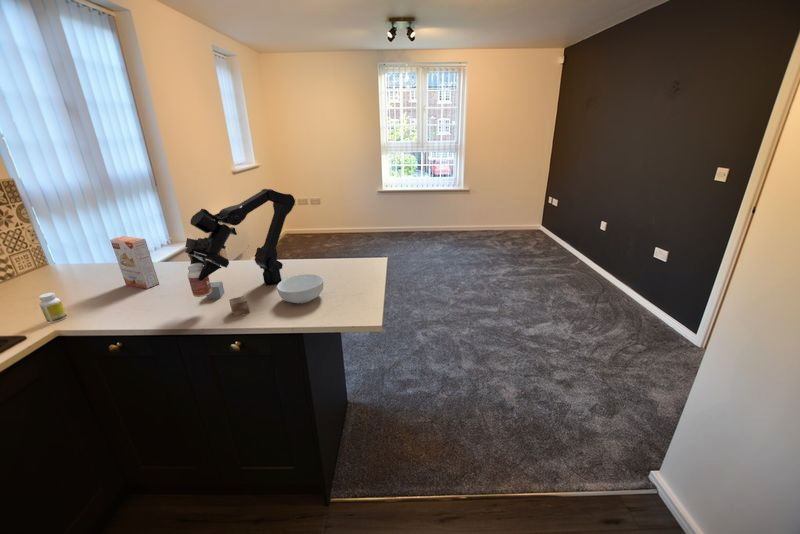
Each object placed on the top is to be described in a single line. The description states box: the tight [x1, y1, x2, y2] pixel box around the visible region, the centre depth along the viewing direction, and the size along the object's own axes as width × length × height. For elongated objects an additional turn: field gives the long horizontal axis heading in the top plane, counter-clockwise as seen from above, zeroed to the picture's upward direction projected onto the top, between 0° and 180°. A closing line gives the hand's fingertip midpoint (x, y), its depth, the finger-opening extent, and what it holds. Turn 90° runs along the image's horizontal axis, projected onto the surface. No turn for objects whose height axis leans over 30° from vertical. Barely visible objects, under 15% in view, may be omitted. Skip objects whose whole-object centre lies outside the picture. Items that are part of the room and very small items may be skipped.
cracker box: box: [109, 235, 160, 290], centre depth 150 cm, size 14×6×21 cm, turn 68°
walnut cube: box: [228, 295, 250, 318], centre depth 126 cm, size 5×5×5 cm
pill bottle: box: [187, 263, 212, 298], centre depth 125 cm, size 6×6×11 cm
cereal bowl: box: [276, 273, 324, 304], centre depth 135 cm, size 17×17×7 cm
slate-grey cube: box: [206, 281, 225, 300], centre depth 140 cm, size 5×5×5 cm
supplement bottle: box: [38, 292, 68, 323], centre depth 125 cm, size 5×5×10 cm
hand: (194, 278), depth 124 cm, fingers closed on pill bottle, 6 cm apart
